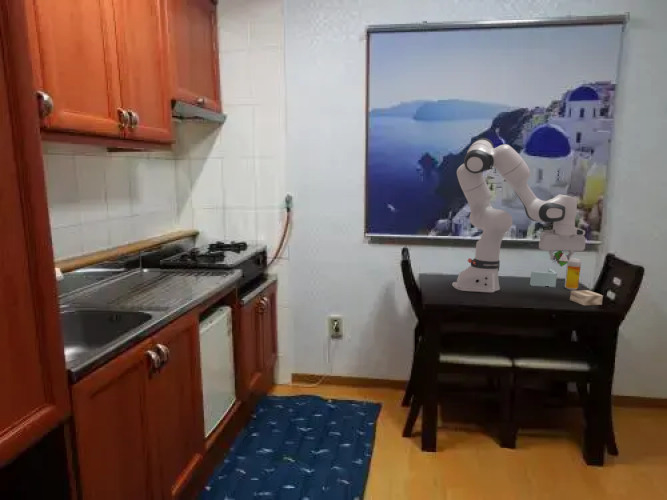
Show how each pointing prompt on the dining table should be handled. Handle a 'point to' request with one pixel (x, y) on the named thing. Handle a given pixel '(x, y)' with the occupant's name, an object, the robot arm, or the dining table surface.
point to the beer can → (572, 274)
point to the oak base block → (586, 297)
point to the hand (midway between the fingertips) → (560, 260)
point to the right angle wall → (543, 278)
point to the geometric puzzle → (561, 258)
